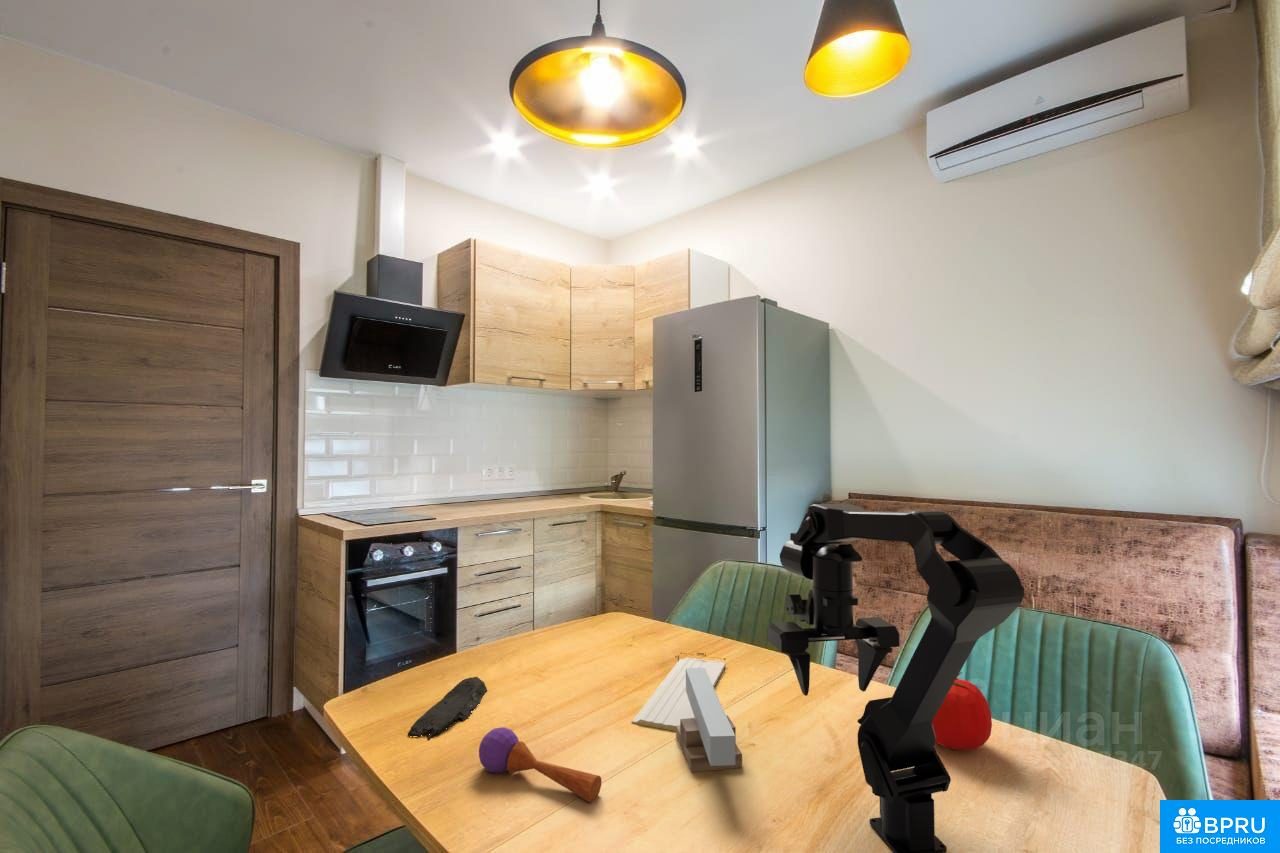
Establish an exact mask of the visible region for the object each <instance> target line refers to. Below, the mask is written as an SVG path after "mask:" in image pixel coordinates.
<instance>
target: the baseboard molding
mask: <svg viewBox="0 0 1280 853" xmlns="http://www.w3.org/2000/svg"><path fill="white" fill-rule="evenodd" d="M682 654H683V655H686V653H684V652H682ZM690 655H692V656H694V654H692V653H690ZM697 656H699V657H701V656H704V657H707V658H708V656H707V653H703V652H701V653H700V652H697ZM674 657H675V658H677V662H676V663H675V665H674V666H673V667H672V668H671V669H670V671H669V673H668V674H667V675H666V676H665V678H664V679H663V680H662V682H661V683H659V686H658V687H657V688H656V690H654V692H653V693H652V695H651V696H650V697H649V698H648V700H647V701H646V702H645V704H644V705H643V706H642V708H641V709H640V710H639V711H638V712H637V713H636V715H635V717H634V718H633V719H632V720H631V723H632V724H635V725H641V726H645V727H646V726H647V727H651V728H658V729H664V730H669V731H673V732H676V726H678V725H680V719H687V718H695V717H694V714H693V711H692V708H691V705H690V702H689V699H688V696H687V693H686V668H705V669H706V672H707V674H708V676H709V678H710V681H711V683H712V685H713V687H714V688H715V686H716V684H717V682H718V680H719V679H720V677H721V675H722V673H723V671H724V669H725V667H726V665H727V664H726V662H725V661H726V658H725V657H724V658H723V660H724V661H716V660H706V659H703V658H700V659H699V658H693V657H692V658H691V657H689V656H687V657H685V658H680V654H677V655H675V656H674ZM711 658H712V659H715V657H712V656H711ZM718 659H720V660H721V659H722V658H721V657H720V658H719V657H718Z"/></svg>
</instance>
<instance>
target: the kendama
mask: <svg viewBox="0 0 1280 853" xmlns="http://www.w3.org/2000/svg"><path fill="white" fill-rule="evenodd" d="M478 757H479V758H478V759H479V761H480V764H481V765H482V767H483V768H484V769H485V770H486V771H488V772H490V773H493V774H497V773H503V772H506V771H508V772H509V773H510V774H511V773H517V772H523V771H528V770H529V771H530V770H535V771H536V772H538V773H540V774H542V775H543V776H545V777H547V778H549V779H550V780H551V781H554V782H555V783H556V784H558V785H560V786H561V787H563V788H565V789H567V790H569V791H570V792H571V793H574V794H575V795H577V796H578V797H580V798H582V799H583V800H585V801H587V802H588V803H590V804H592V803H593V802H594V801H595V800H596V799H597V798H598V796H599V794H600V792H601V788H602V776H600V775H597V774H595V773H594V774H593V773H589V772H585V771H582V770H577V769H573V768H570V767H566V766H561V765H557V764H552V763H550V762H549V763H548V762H545V761H542V760H541V761H540V760H537V758H536V757H535V755H534V754H533V753H532V752H531V750H530V749H529V747H528V746H527V745H526V743H525V742H524V741H521V740H520V741H519V737H518V735H516V734H515V732H514V731H513V730H512V729H511V728H507V727H502V726H501V727H495V728H493V729H491V730H490V731H489V732H487V733H486V734H485V735H484V737H482V740H481V742H480V743H479V747H478Z"/></svg>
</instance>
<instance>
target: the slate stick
mask: <svg viewBox="0 0 1280 853" xmlns="http://www.w3.org/2000/svg"><path fill="white" fill-rule="evenodd" d="M686 693H687V696H688V699H689V702H690V705H691V708H692V711H693V714H694V717H695V720H696V723H697V726H698V729H699V732H700V735H701V739H702V742H703V745H704V748H705V751H706V754H707V757H708V760H709V763H710V766H721V765H735V734H734V732H733V730H732V727H731V725H730V723H729V721H728V718H727V716H726V715H727V714H726V712H725V710H724V708H723V706H722V705H723V704H722V703H721V701H720V698H719V696H718V693H717V692H716V690H715V686H714V687H713V685H712V683H711V681H710V678H709V676H708V674H707V672H706V669H705V668H686Z"/></svg>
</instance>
